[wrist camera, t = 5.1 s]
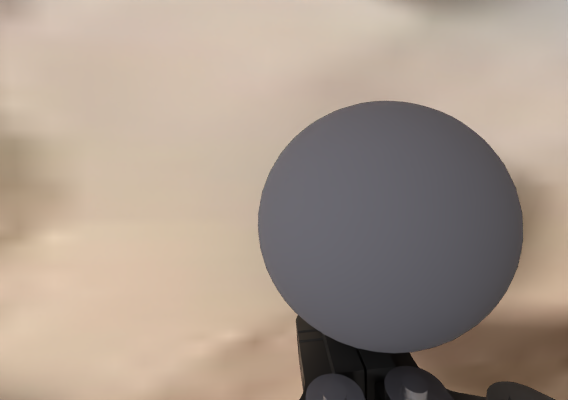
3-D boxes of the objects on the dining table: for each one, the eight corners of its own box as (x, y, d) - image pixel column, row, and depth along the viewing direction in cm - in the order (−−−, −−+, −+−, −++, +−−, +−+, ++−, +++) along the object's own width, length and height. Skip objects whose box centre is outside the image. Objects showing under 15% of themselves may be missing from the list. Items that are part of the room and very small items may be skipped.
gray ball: (261, 221, 12) (241, 67, 7) (406, 206, 12) (470, 51, 8) (274, 399, 7) (248, 285, 3) (497, 368, 8) (745, 228, 4)
